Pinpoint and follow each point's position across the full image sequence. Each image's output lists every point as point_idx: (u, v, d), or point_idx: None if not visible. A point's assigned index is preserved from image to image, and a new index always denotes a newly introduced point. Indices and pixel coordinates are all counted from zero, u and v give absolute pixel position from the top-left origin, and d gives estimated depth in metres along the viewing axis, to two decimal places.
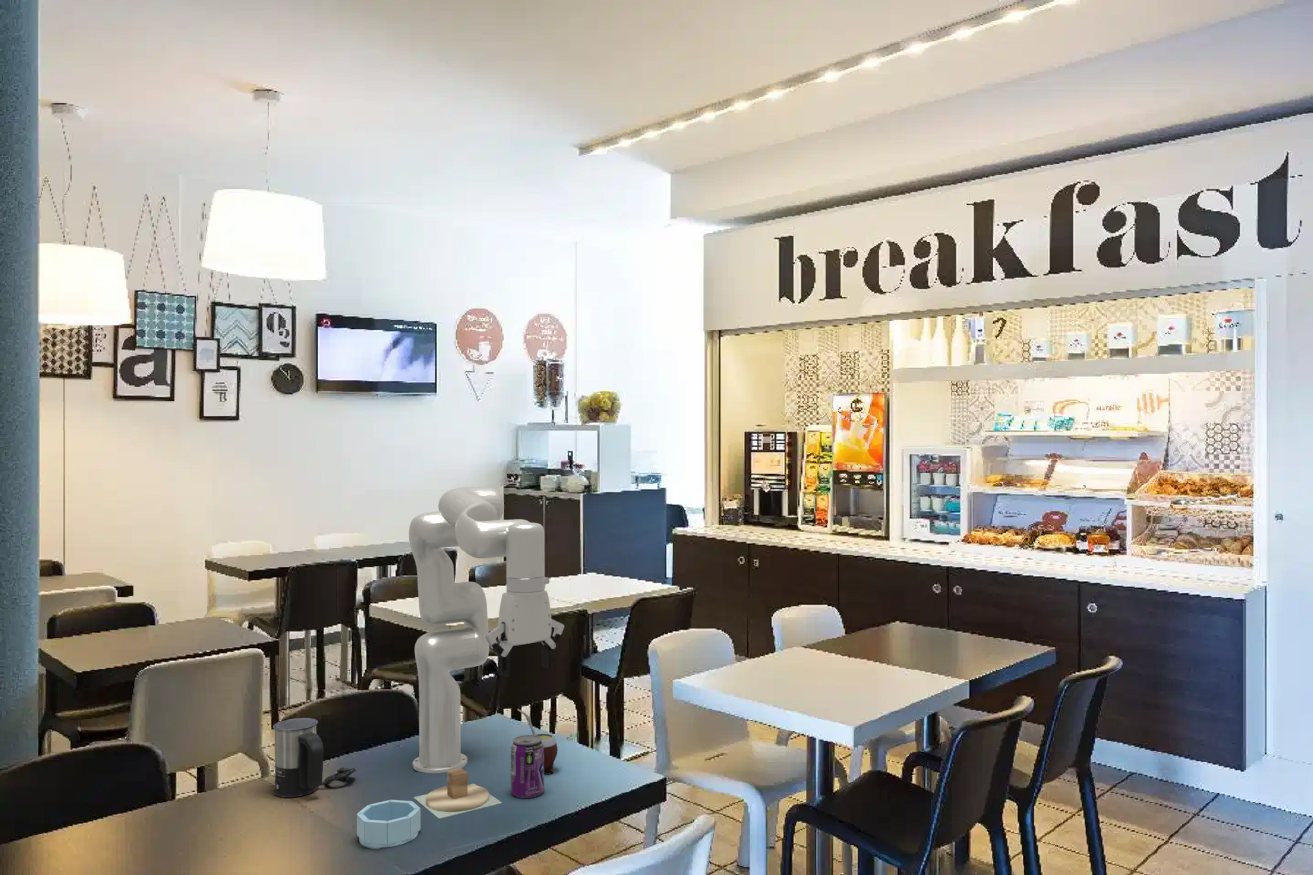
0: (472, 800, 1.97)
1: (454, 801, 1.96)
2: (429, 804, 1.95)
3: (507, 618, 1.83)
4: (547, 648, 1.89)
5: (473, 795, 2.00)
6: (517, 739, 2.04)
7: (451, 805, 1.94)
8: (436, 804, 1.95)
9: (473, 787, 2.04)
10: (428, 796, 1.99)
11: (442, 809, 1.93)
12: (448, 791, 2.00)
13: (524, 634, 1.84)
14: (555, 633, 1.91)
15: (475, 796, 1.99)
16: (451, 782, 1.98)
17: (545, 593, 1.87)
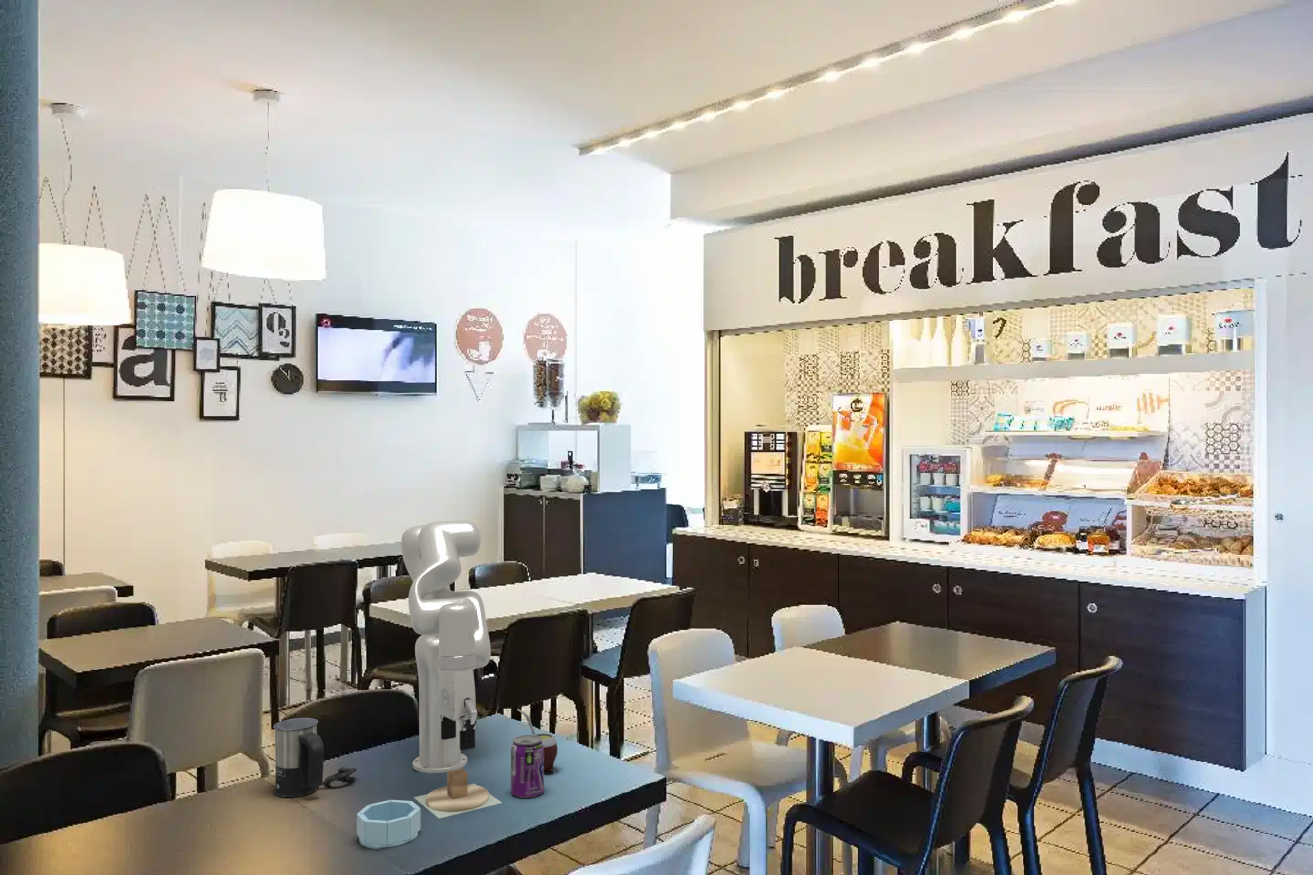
0: (472, 800, 1.97)
1: (454, 801, 1.96)
2: (429, 804, 1.95)
3: (472, 693, 1.96)
4: (451, 719, 2.03)
5: (473, 795, 2.00)
6: (517, 739, 2.04)
7: (451, 805, 1.94)
8: (436, 804, 1.95)
9: (473, 787, 2.04)
10: (428, 796, 1.99)
11: (442, 809, 1.93)
12: (448, 791, 2.00)
13: None
14: None
15: (475, 796, 1.99)
16: (451, 782, 1.98)
17: None
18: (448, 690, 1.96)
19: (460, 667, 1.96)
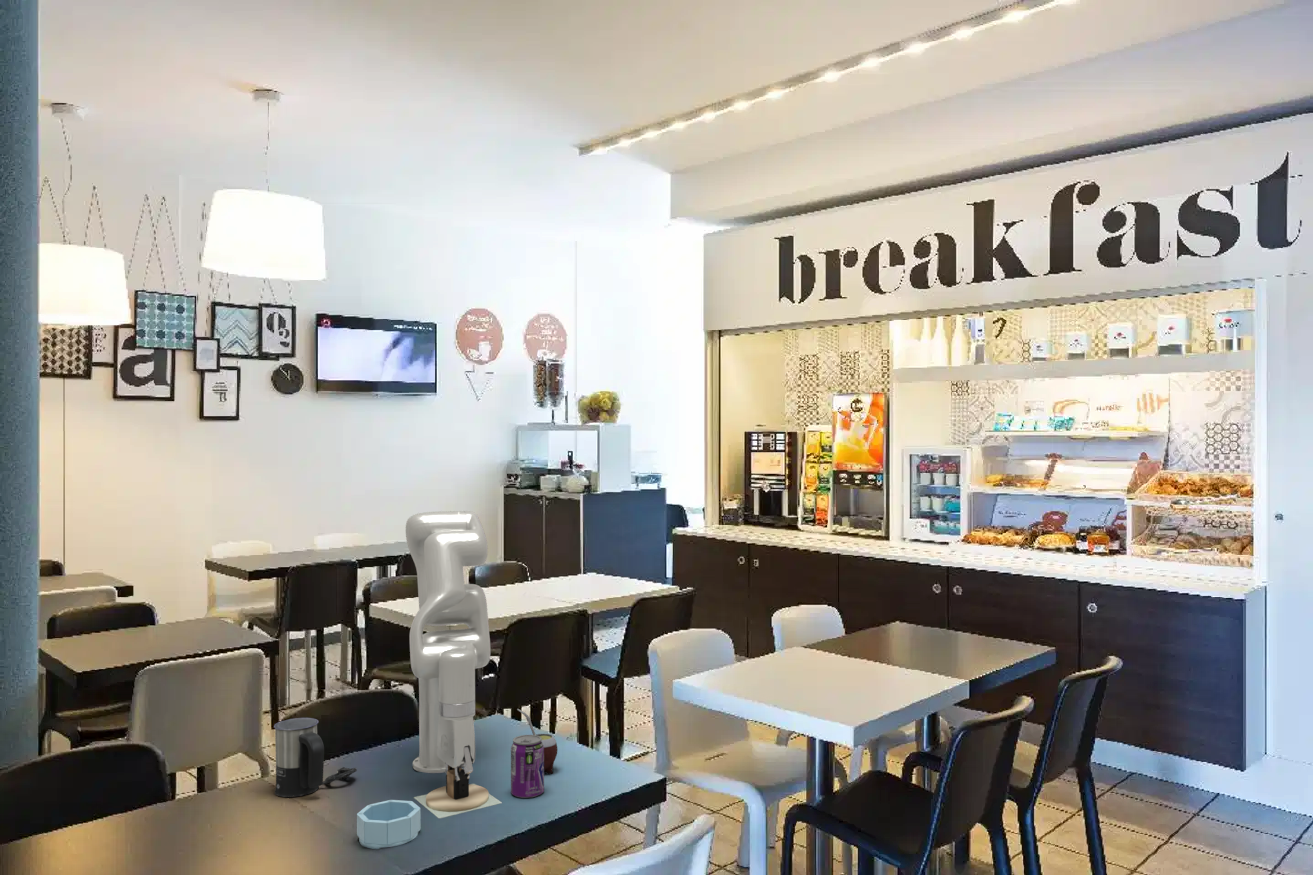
0: (471, 799, 1.97)
1: (454, 801, 1.96)
2: (429, 804, 1.95)
3: (472, 740, 1.97)
4: None
5: (473, 795, 2.00)
6: (517, 739, 2.04)
7: (451, 805, 1.94)
8: (436, 804, 1.95)
9: (473, 787, 2.04)
10: (428, 796, 1.99)
11: (442, 809, 1.93)
12: (448, 791, 2.00)
13: None
14: None
15: (475, 795, 1.99)
16: (451, 782, 1.98)
17: None
18: (448, 737, 1.97)
19: (460, 714, 1.96)
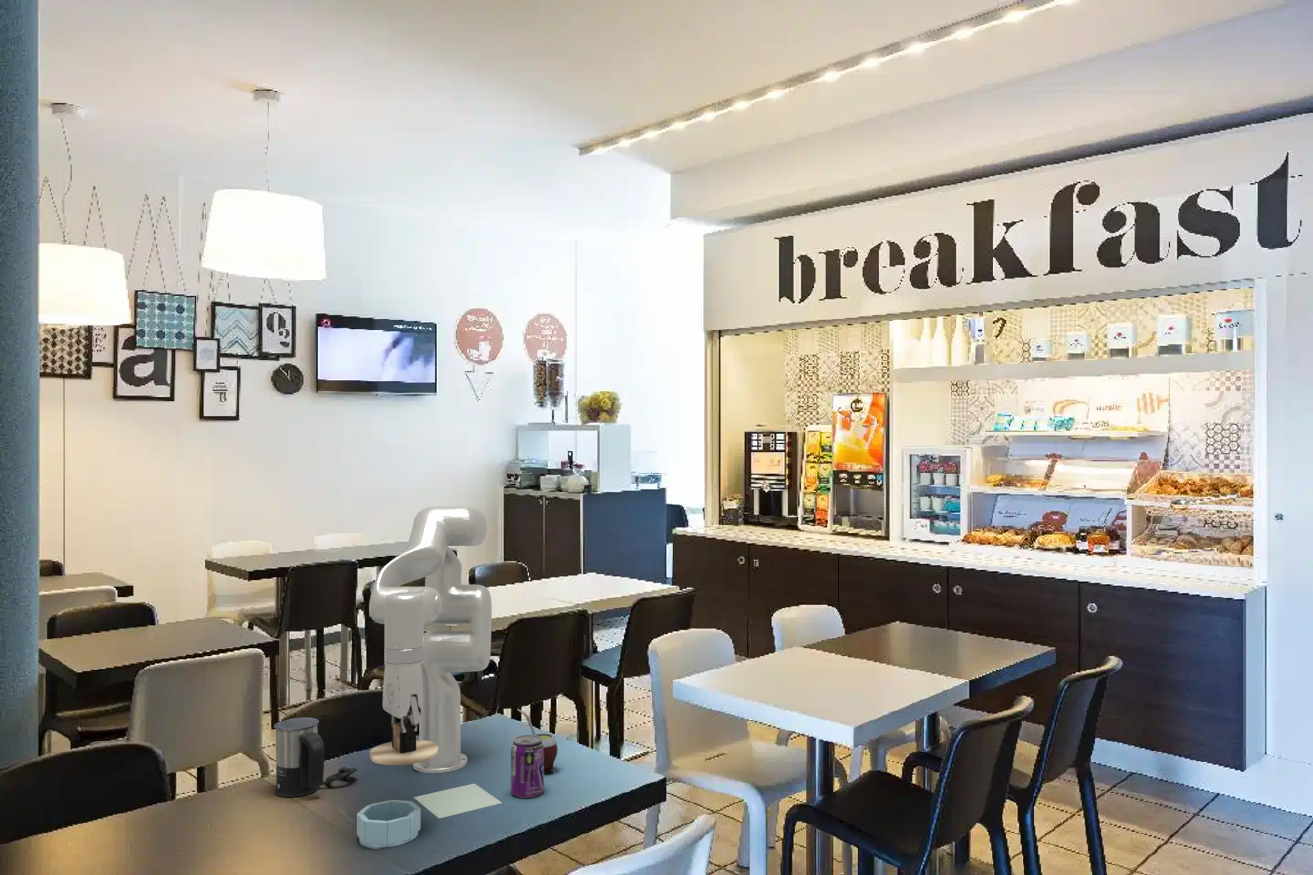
0: (419, 753, 1.83)
1: (400, 754, 1.82)
2: (373, 757, 1.81)
3: (419, 688, 1.82)
4: None
5: (421, 749, 1.85)
6: (517, 739, 2.04)
7: (396, 758, 1.80)
8: (380, 757, 1.80)
9: (422, 742, 1.90)
10: (372, 750, 1.85)
11: (386, 762, 1.79)
12: (394, 745, 1.85)
13: None
14: None
15: (423, 749, 1.85)
16: (398, 734, 1.84)
17: None
18: (393, 686, 1.82)
19: (407, 661, 1.82)
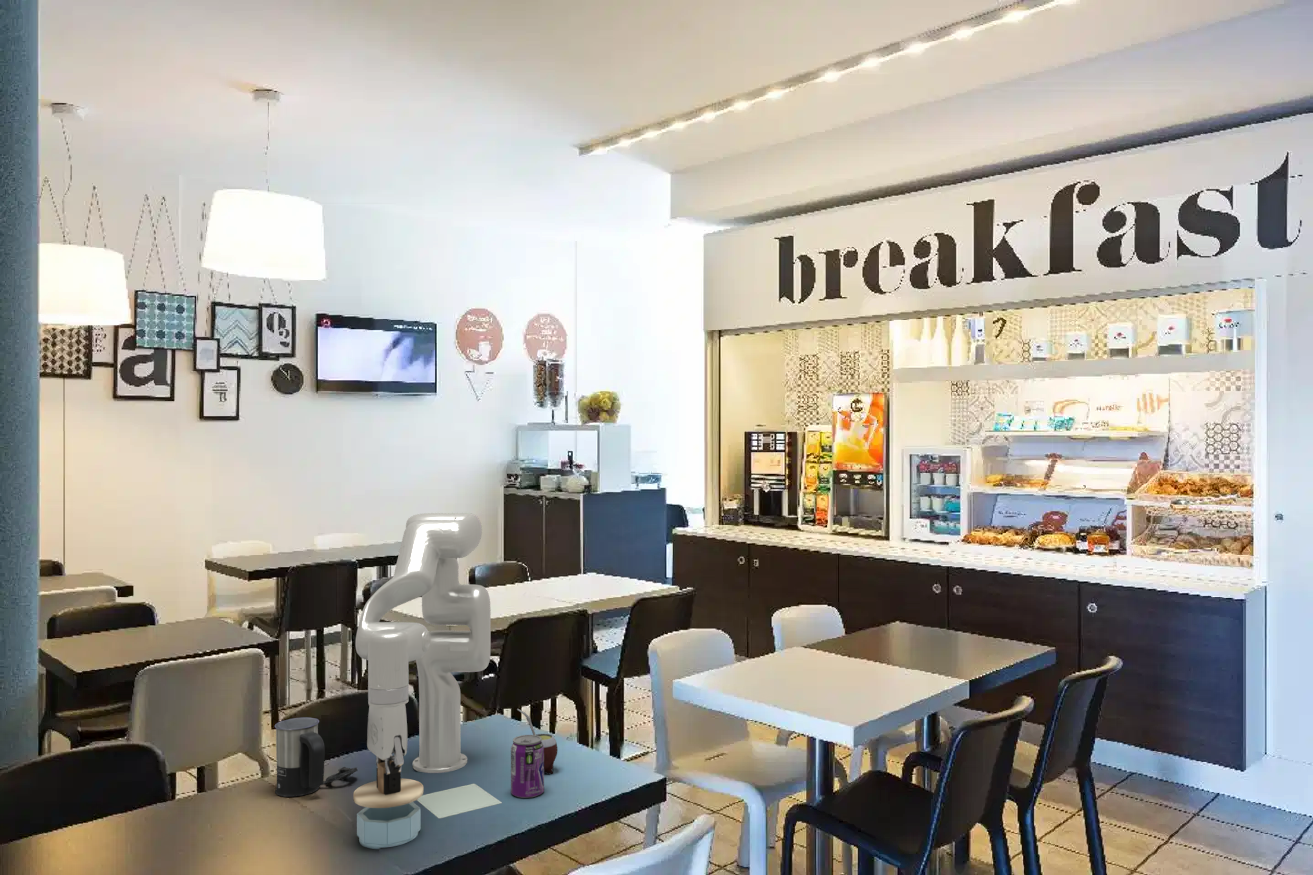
0: (403, 795, 1.79)
1: (384, 796, 1.78)
2: (356, 799, 1.78)
3: (403, 729, 1.79)
4: None
5: (406, 790, 1.82)
6: (517, 739, 2.04)
7: (379, 800, 1.76)
8: (363, 799, 1.77)
9: (407, 781, 1.86)
10: (356, 791, 1.81)
11: (369, 805, 1.76)
12: (378, 785, 1.82)
13: None
14: None
15: (408, 790, 1.81)
16: (382, 775, 1.80)
17: None
18: (377, 726, 1.79)
19: (390, 701, 1.79)
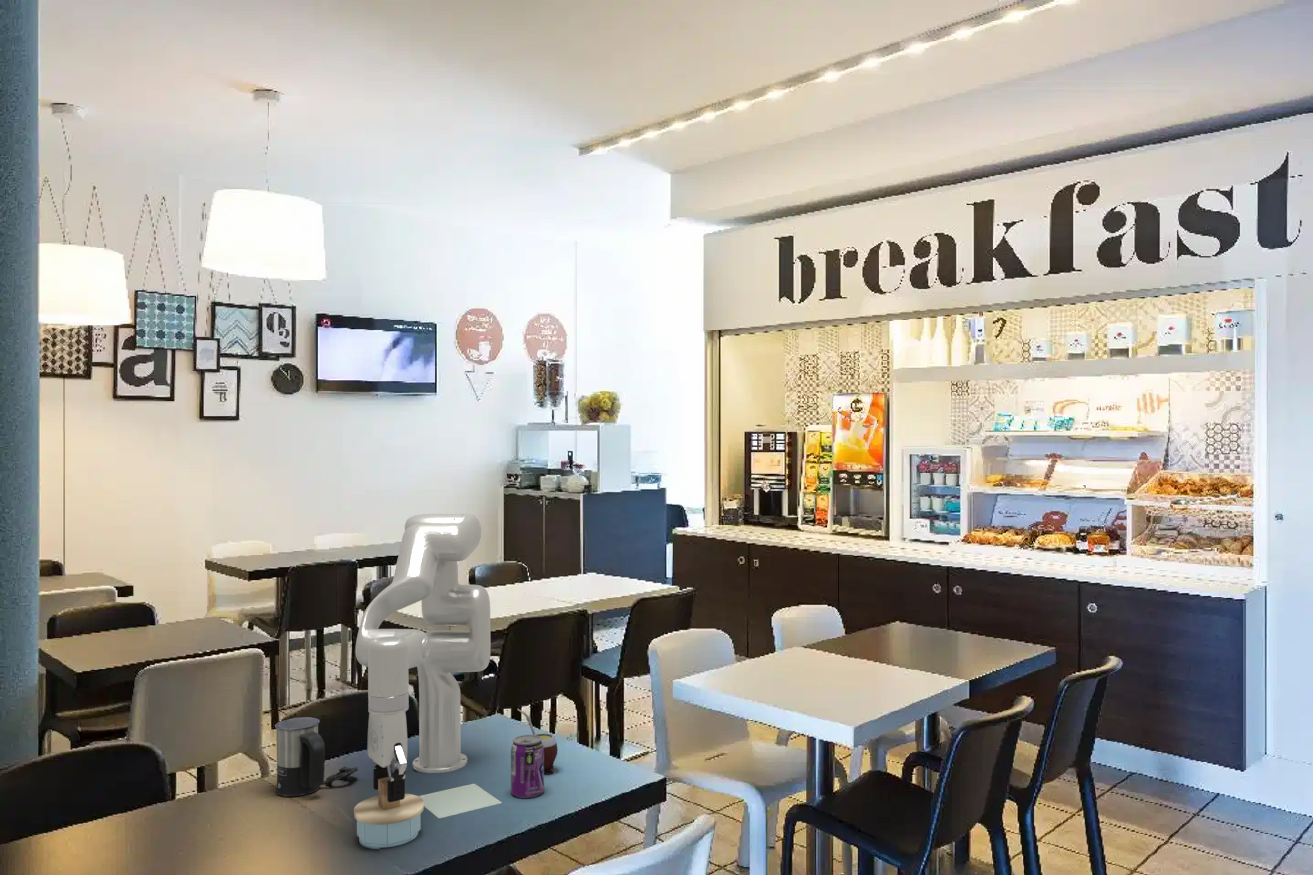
0: (403, 811, 1.79)
1: (384, 812, 1.79)
2: (356, 815, 1.78)
3: (404, 737, 1.79)
4: (384, 767, 1.85)
5: (406, 805, 1.82)
6: (517, 739, 2.04)
7: (380, 817, 1.76)
8: (363, 816, 1.77)
9: (408, 796, 1.87)
10: (357, 806, 1.82)
11: (369, 821, 1.76)
12: (379, 801, 1.82)
13: None
14: None
15: (408, 806, 1.81)
16: (382, 791, 1.80)
17: None
18: (377, 734, 1.79)
19: (390, 709, 1.79)
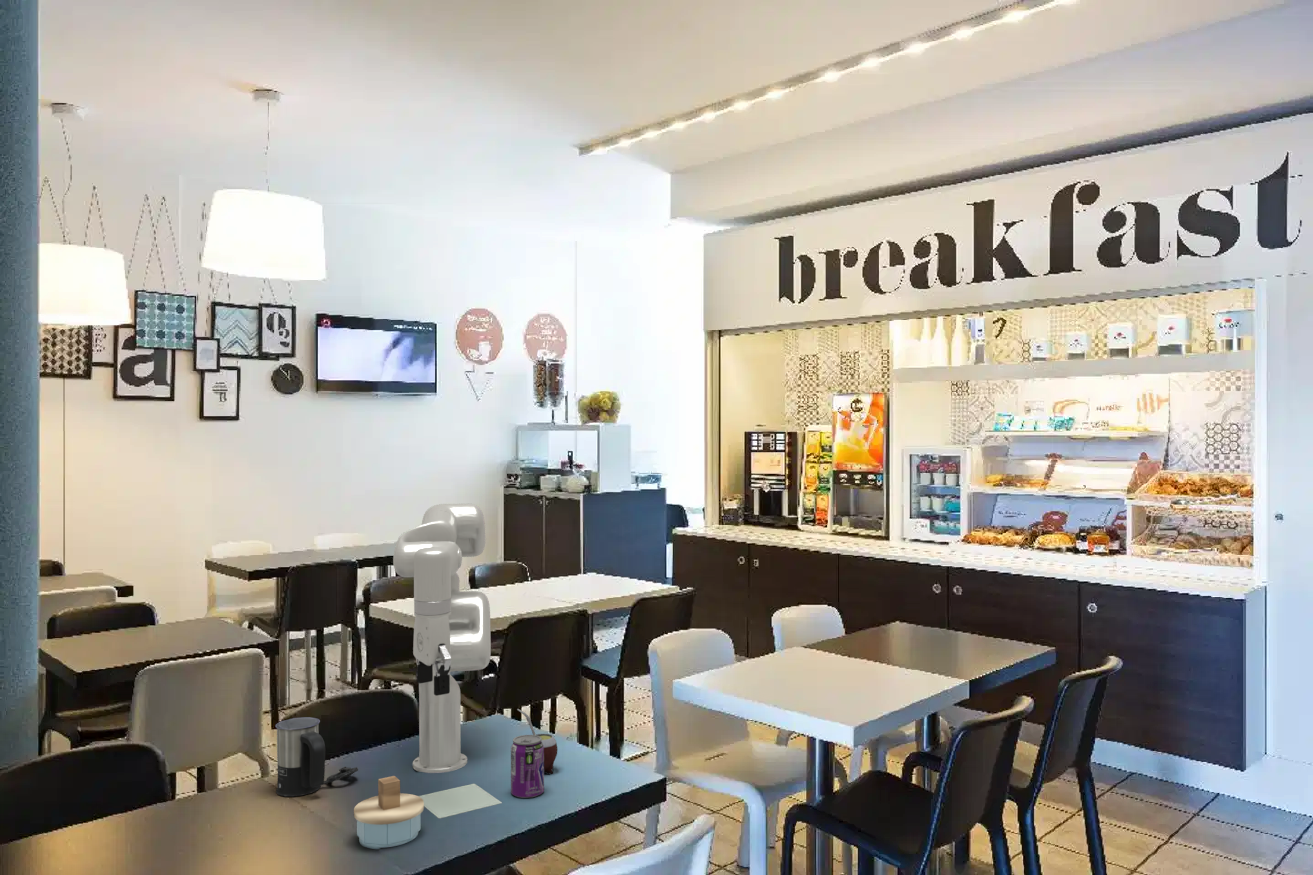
0: (403, 811, 1.79)
1: (384, 812, 1.79)
2: (356, 815, 1.78)
3: (447, 638, 1.93)
4: None
5: (406, 805, 1.82)
6: (517, 739, 2.04)
7: (380, 817, 1.76)
8: (363, 816, 1.77)
9: (408, 796, 1.87)
10: (357, 806, 1.82)
11: (369, 821, 1.76)
12: (379, 801, 1.82)
13: None
14: None
15: (408, 806, 1.81)
16: (382, 791, 1.80)
17: None
18: (423, 635, 1.93)
19: (435, 612, 1.93)
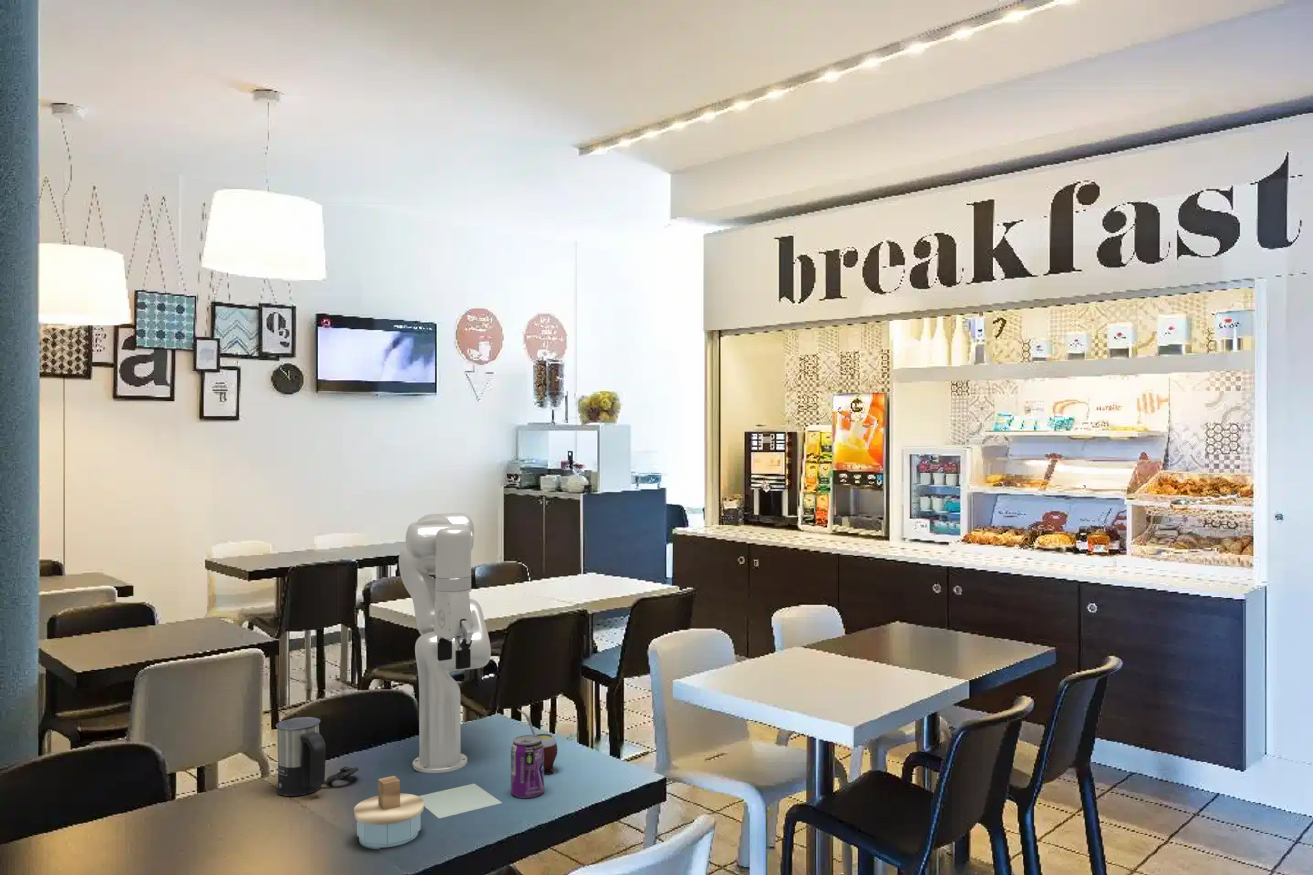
0: (403, 811, 1.79)
1: (384, 812, 1.79)
2: (356, 815, 1.78)
3: (468, 614, 2.01)
4: (447, 641, 2.08)
5: (406, 805, 1.82)
6: (517, 739, 2.04)
7: (380, 817, 1.76)
8: (363, 816, 1.77)
9: (408, 796, 1.87)
10: (357, 806, 1.82)
11: (369, 821, 1.76)
12: (379, 801, 1.82)
13: None
14: None
15: (408, 806, 1.81)
16: (382, 791, 1.80)
17: None
18: (444, 611, 2.01)
19: (456, 589, 2.00)
